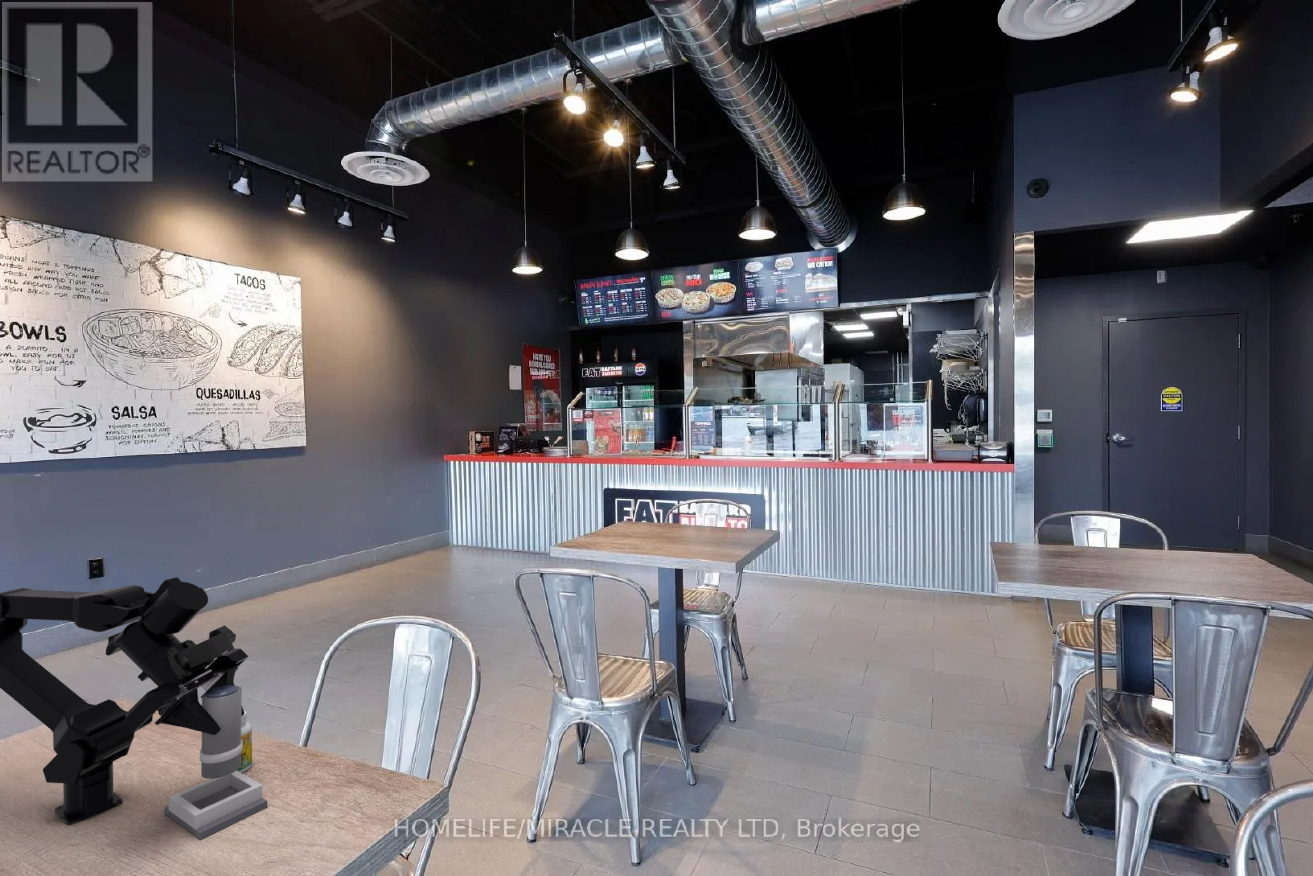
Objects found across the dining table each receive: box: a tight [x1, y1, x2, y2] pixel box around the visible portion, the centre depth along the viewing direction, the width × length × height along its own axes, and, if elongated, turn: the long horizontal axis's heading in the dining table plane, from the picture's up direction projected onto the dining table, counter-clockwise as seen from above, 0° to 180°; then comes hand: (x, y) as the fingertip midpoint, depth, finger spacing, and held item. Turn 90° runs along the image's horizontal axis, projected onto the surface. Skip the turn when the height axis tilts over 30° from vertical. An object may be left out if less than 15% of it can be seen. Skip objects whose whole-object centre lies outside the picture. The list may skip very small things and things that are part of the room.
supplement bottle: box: [237, 710, 253, 774], centre depth 106 cm, size 5×5×10 cm
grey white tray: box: [164, 771, 268, 841], centre depth 94 cm, size 12×9×3 cm
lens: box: [199, 684, 243, 780], centre depth 94 cm, size 5×5×12 cm
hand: (230, 724), depth 94 cm, fingers closed on lens, 5 cm apart
